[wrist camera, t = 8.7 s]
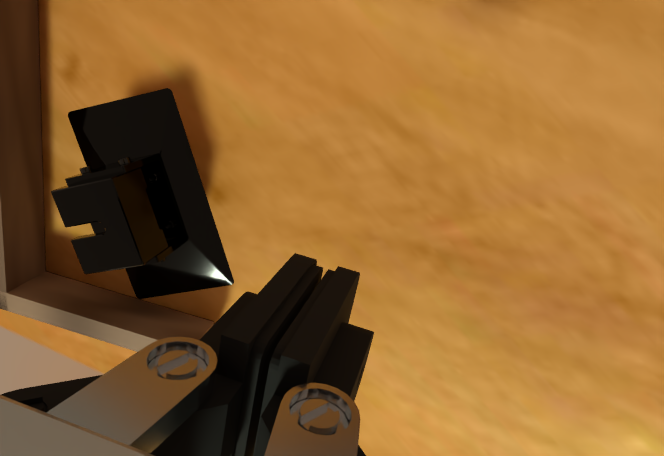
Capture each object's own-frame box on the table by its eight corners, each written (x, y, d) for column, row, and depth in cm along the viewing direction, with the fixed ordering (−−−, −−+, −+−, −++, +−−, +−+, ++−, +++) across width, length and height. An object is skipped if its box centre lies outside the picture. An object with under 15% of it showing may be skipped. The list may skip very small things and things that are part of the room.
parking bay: (261, -63, 18) (235, -79, 16) (212, 338, 25) (188, 367, 23) (12, -111, 20) (-45, -132, 17) (29, 282, 26) (-11, 305, 24)
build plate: (51, 82, 23) (-40, 87, 19) (188, 42, 21) (123, 37, 17) (140, 319, 26) (80, 370, 22) (266, 304, 24) (227, 356, 20)
